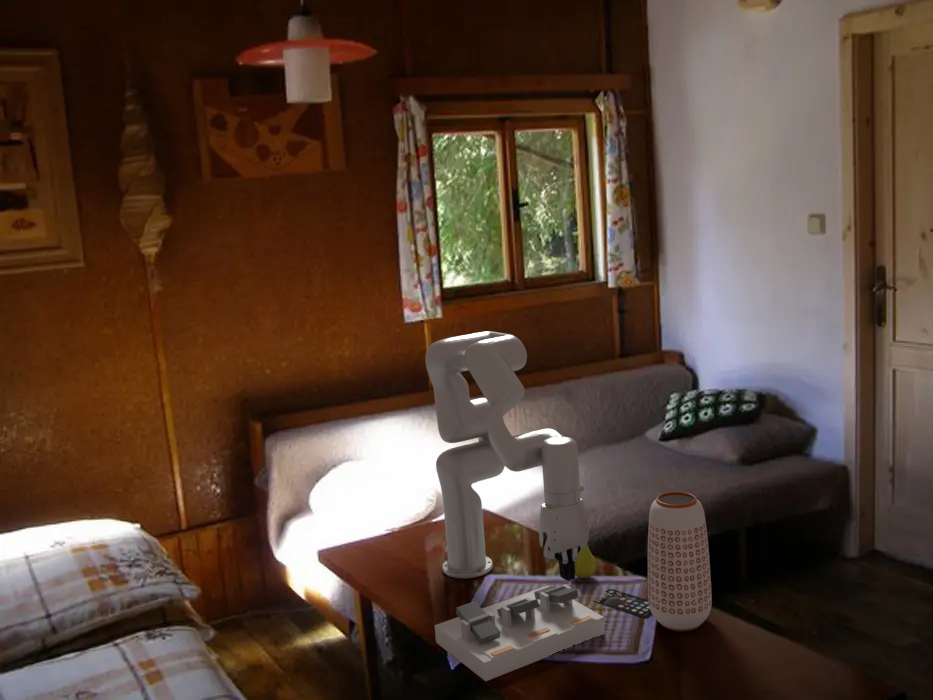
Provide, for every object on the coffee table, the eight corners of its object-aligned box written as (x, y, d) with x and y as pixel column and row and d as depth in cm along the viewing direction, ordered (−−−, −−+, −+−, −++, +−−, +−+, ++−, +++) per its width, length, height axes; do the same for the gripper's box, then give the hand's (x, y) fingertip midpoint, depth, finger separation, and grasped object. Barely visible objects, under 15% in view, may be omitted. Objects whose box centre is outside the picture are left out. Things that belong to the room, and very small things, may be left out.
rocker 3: (535, 599, 218) (533, 589, 218) (552, 593, 220) (550, 583, 220) (561, 603, 209) (559, 593, 209) (578, 597, 211) (576, 587, 211)
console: (436, 642, 212) (433, 608, 211) (549, 601, 227) (547, 569, 225) (485, 681, 195) (482, 644, 194) (604, 634, 210) (602, 599, 208)
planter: (713, 637, 205) (710, 509, 200) (648, 636, 208) (643, 509, 202) (711, 608, 218) (707, 487, 212) (649, 607, 221) (644, 487, 215)
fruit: (600, 579, 237) (598, 532, 234) (579, 584, 234) (576, 537, 232) (589, 570, 242) (586, 524, 239) (568, 575, 240) (565, 529, 237)
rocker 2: (499, 616, 213) (496, 607, 213) (516, 610, 215) (513, 601, 215) (521, 613, 204) (518, 603, 205) (539, 606, 206) (536, 596, 207)
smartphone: (610, 588, 231) (664, 604, 220) (610, 590, 231) (664, 607, 221) (590, 599, 226) (645, 617, 215) (590, 602, 226) (645, 620, 216)
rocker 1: (455, 613, 208) (456, 605, 207) (474, 606, 210) (475, 599, 209) (480, 644, 200) (481, 636, 199) (499, 637, 203) (500, 629, 202)
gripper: (579, 483, 213) (584, 563, 216) (522, 500, 206) (528, 582, 209) (601, 492, 207) (606, 574, 210) (543, 509, 199) (549, 594, 203)
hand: (567, 578), depth 210 cm, fingers closed
